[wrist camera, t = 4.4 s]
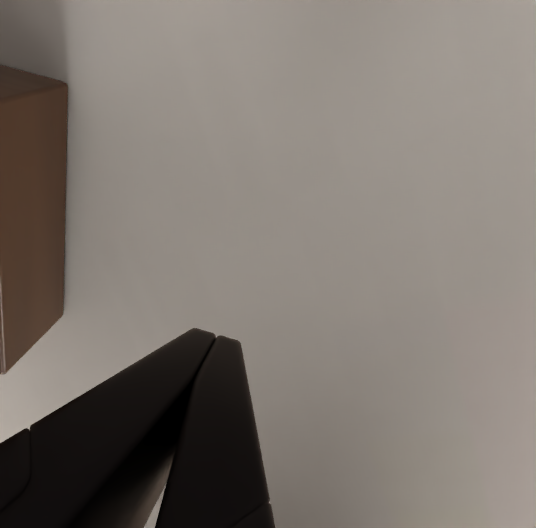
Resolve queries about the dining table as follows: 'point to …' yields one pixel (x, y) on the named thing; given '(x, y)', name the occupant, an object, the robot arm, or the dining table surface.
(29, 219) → the s tile
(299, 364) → the dining table surface
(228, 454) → the robot arm
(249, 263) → the dining table surface
